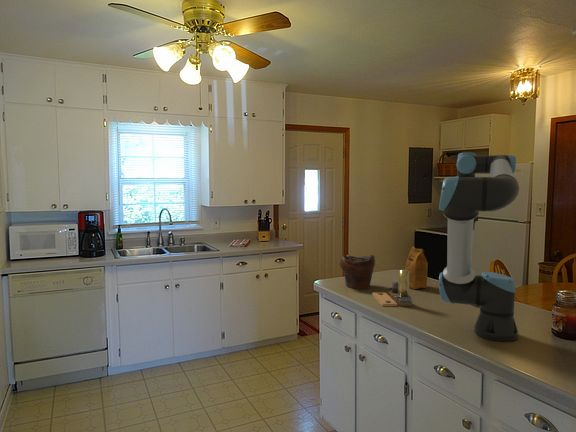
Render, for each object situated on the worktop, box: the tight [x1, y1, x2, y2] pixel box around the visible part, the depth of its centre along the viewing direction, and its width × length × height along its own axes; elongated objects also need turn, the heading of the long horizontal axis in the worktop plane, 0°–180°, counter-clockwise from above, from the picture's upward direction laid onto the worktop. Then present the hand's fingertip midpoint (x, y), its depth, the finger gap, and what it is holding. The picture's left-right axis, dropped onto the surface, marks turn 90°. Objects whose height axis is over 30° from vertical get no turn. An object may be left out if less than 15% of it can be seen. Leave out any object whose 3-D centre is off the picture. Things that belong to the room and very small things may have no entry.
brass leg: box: [394, 269, 412, 302], centre depth 201 cm, size 6×7×14 cm
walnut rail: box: [385, 281, 413, 307], centre depth 208 cm, size 20×8×7 cm, turn 2°
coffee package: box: [404, 246, 429, 290], centre depth 234 cm, size 10×12×22 cm
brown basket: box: [339, 254, 376, 290], centre depth 235 cm, size 18×20×18 cm
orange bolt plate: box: [371, 292, 398, 307], centre depth 208 cm, size 20×7×1 cm, turn 2°
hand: (463, 235), depth 190 cm, fingers open, 13 cm apart
